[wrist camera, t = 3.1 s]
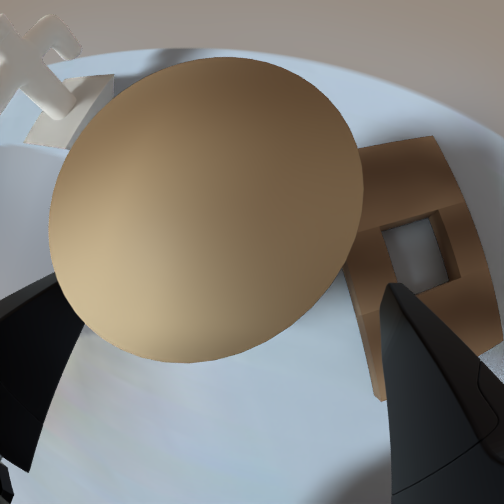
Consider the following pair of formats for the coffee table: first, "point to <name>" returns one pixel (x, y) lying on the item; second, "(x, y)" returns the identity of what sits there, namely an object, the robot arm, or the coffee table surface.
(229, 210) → the oak peg
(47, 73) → the figurine
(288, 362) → the coffee table surface
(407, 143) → the walnut board
